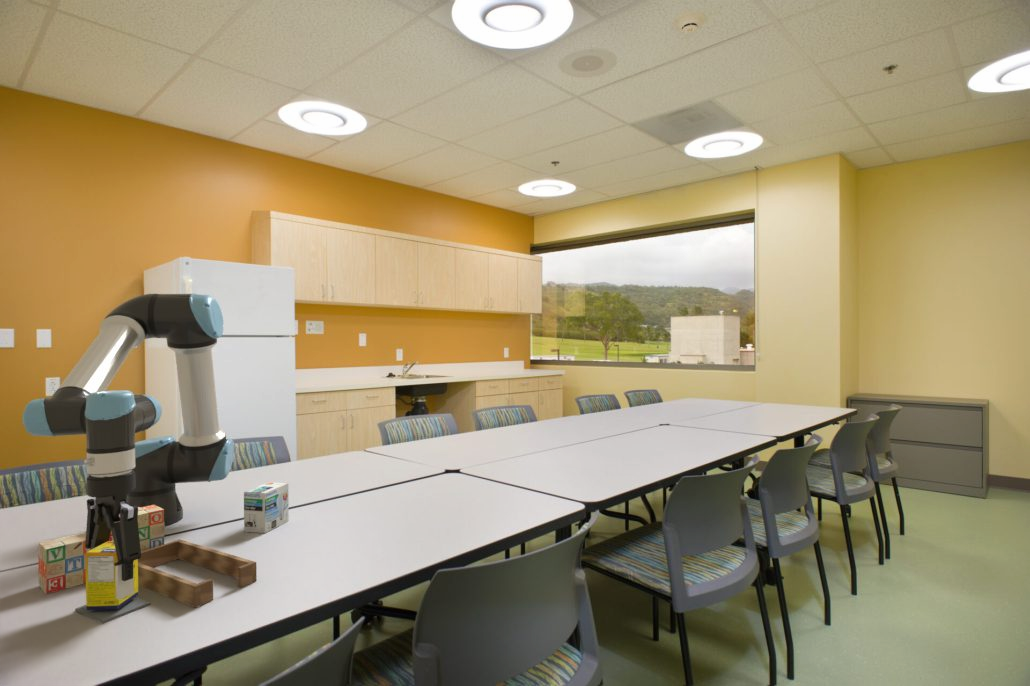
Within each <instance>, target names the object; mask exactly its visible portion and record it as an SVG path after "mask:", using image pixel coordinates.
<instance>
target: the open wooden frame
mask: <svg viewBox="0 0 1030 686" xmlns="http://www.w3.org/2000/svg"><path fill="white" fill-rule="evenodd" d="M177 559H178V560H181V561H185V562H188V563H191V564H194V565H197V566H199V567H202V568H206V569H208V570H212V571H215V572H218V573H221V574H223V575H227V576H230V577H233V578H236V579H238V580H237V582H238V583H237V584H238V585H237V586H238V587H237V588H244V587H246V586H248V585H251V584H253V583H256V582H257V577H258V576H257V561H253V560H250V559H247V558H244V557H240V556H236V555H234V554H230V553H226V552H223V551H220V550H216V549H213V548H211V547H206V546H203V545H201V544H197V543H194V542H190V541H186V540H184V539H183V540H182V539H176V540H173V541H170V542H167V543H164V544H163V545H160V546H157V547H154V548H151V549H148V550H144V551H141V558H139V559H138V587H142V588H144V589H147V590H150V591H152V592H155V593H156V594H159V595H161V596H162V595H163V596H165V597H166V598H170V599H173V600H175V601H177V602H180V603H182V604H185V605H188V606H191V607H192V608H198V607H201V606H202V605H205V604H207V603H210V602H212V601H214V579H212V578H208V579H205V580H203V581H200V582H198V583H197V582H195V581H191V580H189V579H186V578H182V577H180V576H177V575H174V574H171V573H169V572H166V571H162V570H160V569H158V568H154V567H157V566H160V565H163V564H166V563H169V562H172V561H175V560H177Z"/></svg>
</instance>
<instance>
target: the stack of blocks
mask: <svg viewBox="0 0 1030 686" xmlns="http://www.w3.org/2000/svg"><path fill="white" fill-rule="evenodd" d="M137 519H138V529H139V539H140V549H141V551H144V550H148V549H151V548H154V547H157V546H160V545H163V544H165V527H166V526H165V525H164V524H165V523H164V509H162V508H160V507H158V506H156V505H150V506H145V507H138V517H137ZM119 522H120V521H119ZM115 523H117V522H115ZM91 541H92V540H91ZM109 541H114V540H113V535H112V531H111V533H110V538H109ZM85 542H86V531H85V532H80V533H77V534H72V535H67V536H63V537H62V536H61V537H57V538H54V539H49V540H44V541H40V542H38V558H37V559H38V586H39V588H41V590H42V591H43V592H44V593H45V594H51V593H54V592H57V591H60V590H65V589H69V588H73V587H77V586H79V585H80V586H81V585H82V584H86V563H85V553H86V552H88V551H89V550H90V548H89V549H86V548H85Z"/></svg>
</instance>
